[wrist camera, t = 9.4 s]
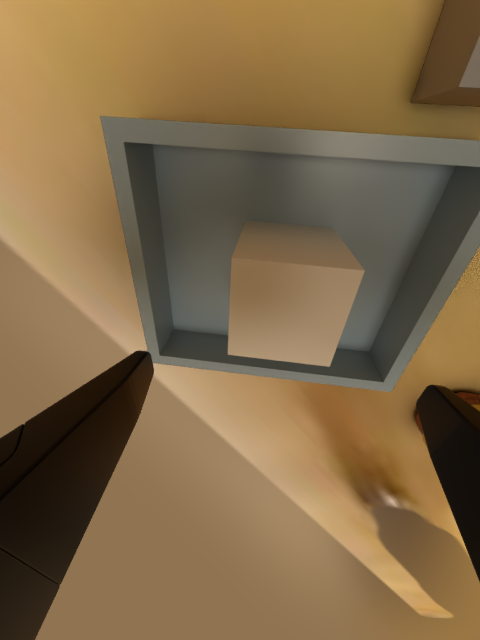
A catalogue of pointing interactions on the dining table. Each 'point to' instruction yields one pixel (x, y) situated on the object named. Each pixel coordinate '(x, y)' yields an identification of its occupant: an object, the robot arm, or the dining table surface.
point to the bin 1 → (296, 209)
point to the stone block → (290, 292)
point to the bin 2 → (453, 58)
